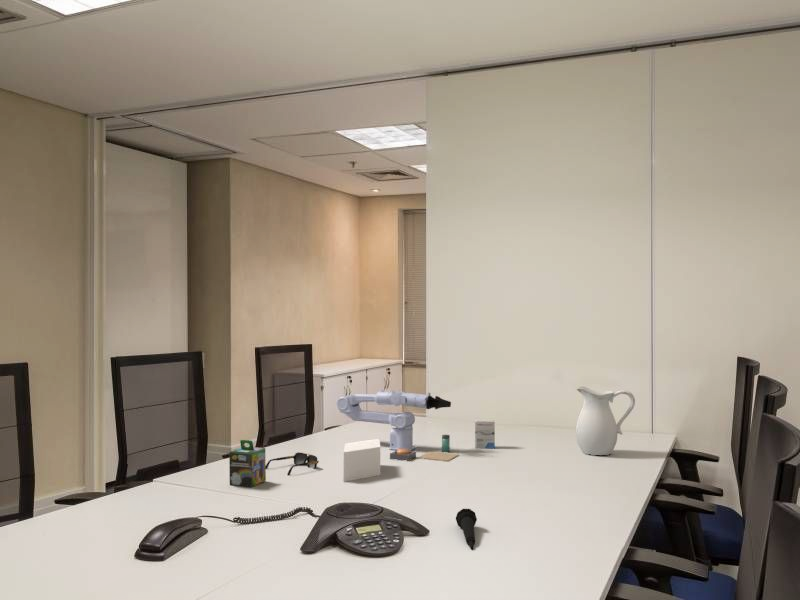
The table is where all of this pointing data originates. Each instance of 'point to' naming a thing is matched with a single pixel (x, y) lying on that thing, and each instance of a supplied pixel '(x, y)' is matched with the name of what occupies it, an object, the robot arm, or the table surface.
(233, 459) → the chalk box
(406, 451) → the button
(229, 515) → the table surface
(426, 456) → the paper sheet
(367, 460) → the white rectangular block
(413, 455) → the button frame
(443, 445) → the cylindrical container
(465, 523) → the microphone
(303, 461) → the sunglasses
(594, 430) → the pitcher
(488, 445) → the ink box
